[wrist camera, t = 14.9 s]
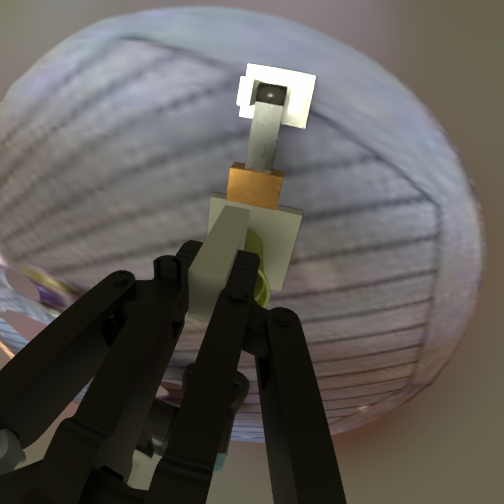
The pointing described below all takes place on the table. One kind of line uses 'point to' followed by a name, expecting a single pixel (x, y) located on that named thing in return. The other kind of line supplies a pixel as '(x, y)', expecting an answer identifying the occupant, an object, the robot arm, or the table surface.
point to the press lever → (260, 153)
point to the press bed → (267, 234)
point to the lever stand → (295, 81)
